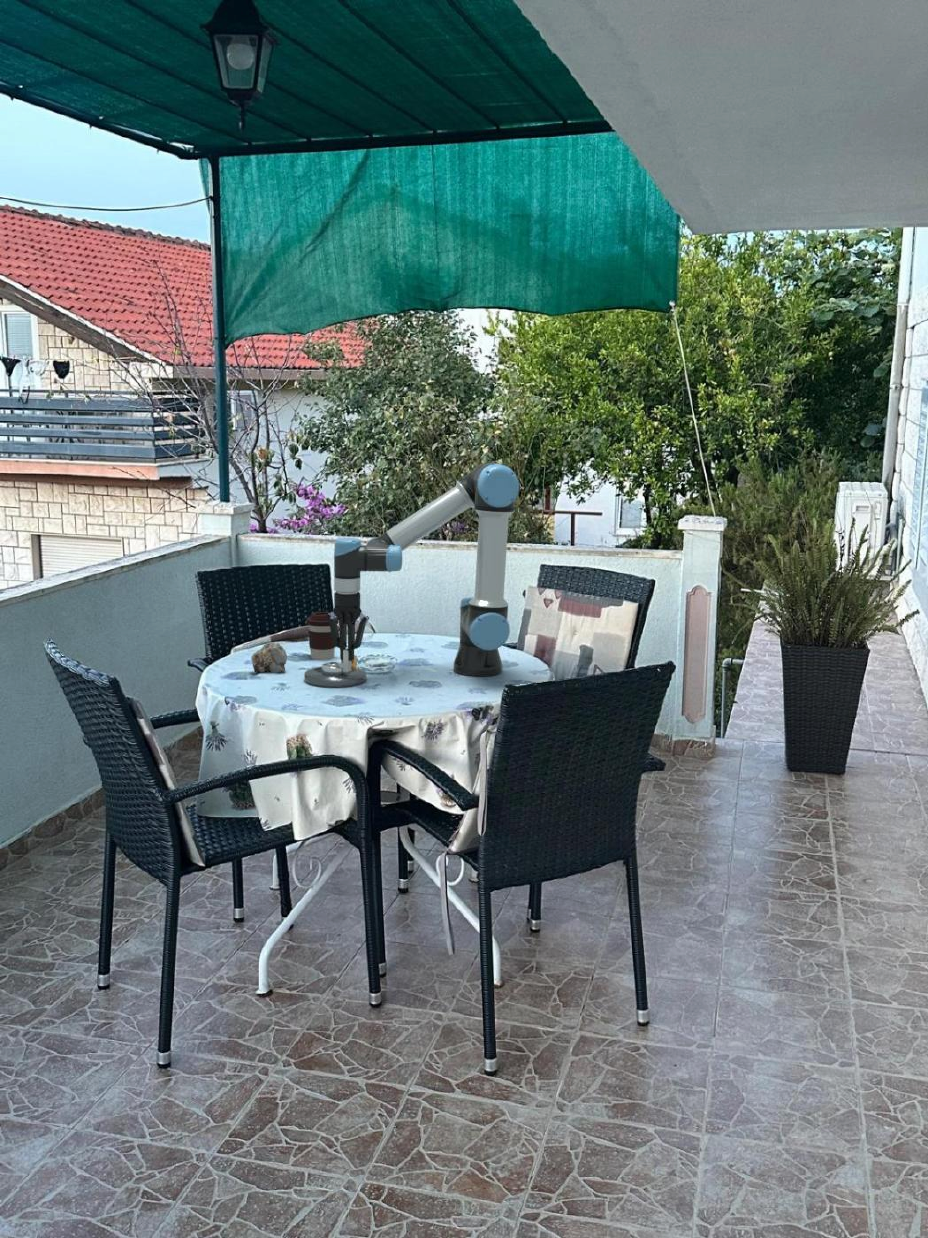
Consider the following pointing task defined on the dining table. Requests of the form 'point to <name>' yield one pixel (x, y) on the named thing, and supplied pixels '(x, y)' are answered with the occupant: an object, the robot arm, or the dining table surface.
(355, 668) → the turntable
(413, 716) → the dining table surface
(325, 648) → the coffee cup
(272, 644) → the rock
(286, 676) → the dining table surface
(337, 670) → the cover
